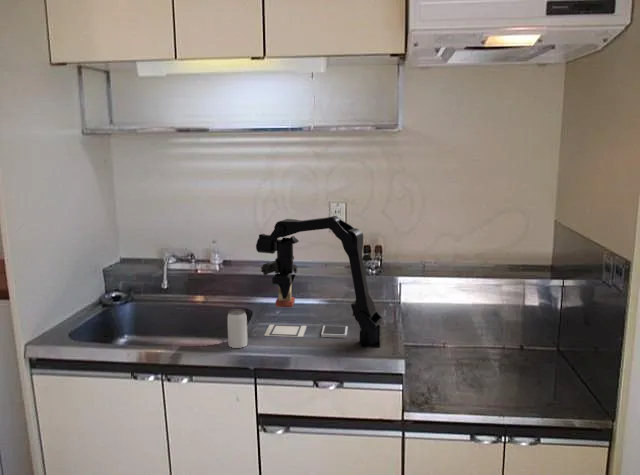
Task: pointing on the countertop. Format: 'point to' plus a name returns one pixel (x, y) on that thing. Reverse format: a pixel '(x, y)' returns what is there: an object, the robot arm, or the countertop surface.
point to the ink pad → (334, 331)
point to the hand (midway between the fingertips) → (285, 296)
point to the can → (237, 328)
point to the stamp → (285, 302)
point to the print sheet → (285, 330)
